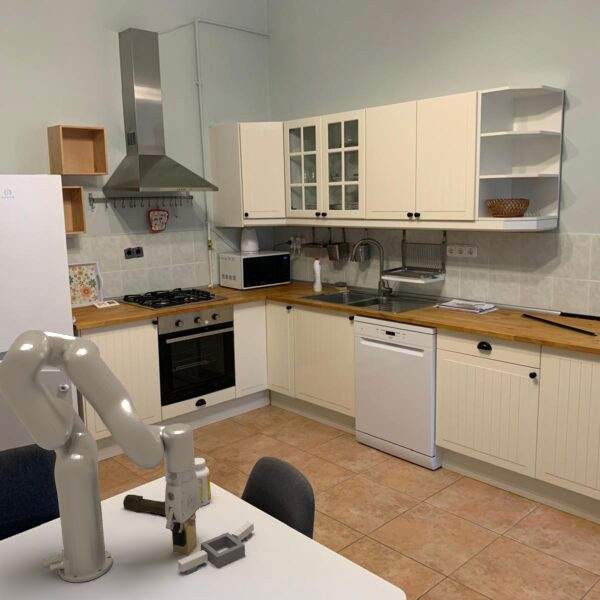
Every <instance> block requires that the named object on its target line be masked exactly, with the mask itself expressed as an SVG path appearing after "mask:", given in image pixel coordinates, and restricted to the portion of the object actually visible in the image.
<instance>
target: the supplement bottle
mask: <svg viewBox="0 0 600 600" xmlns="http://www.w3.org/2000/svg"><path fill="white" fill-rule="evenodd" d="M195 473H196V475H197V478H198V482H199V489H200V498H201V506H200V507H203V506H206V505H209V503H210V502H211V500H212V490H211V475H210V469H209V467H207V466H206V459H205V458H202V457H195Z"/></svg>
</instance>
